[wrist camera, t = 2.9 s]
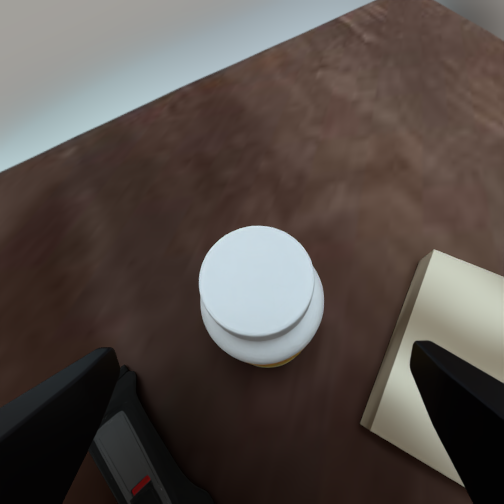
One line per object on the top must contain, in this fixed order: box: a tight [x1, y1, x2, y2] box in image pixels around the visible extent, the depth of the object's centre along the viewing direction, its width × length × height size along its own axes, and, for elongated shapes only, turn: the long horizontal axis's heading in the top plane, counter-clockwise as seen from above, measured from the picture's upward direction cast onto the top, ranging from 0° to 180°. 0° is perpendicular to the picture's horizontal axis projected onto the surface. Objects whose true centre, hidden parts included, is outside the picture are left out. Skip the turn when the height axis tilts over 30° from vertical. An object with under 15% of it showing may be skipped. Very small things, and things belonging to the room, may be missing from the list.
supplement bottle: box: [199, 226, 324, 368], centre depth 14 cm, size 5×5×10 cm
